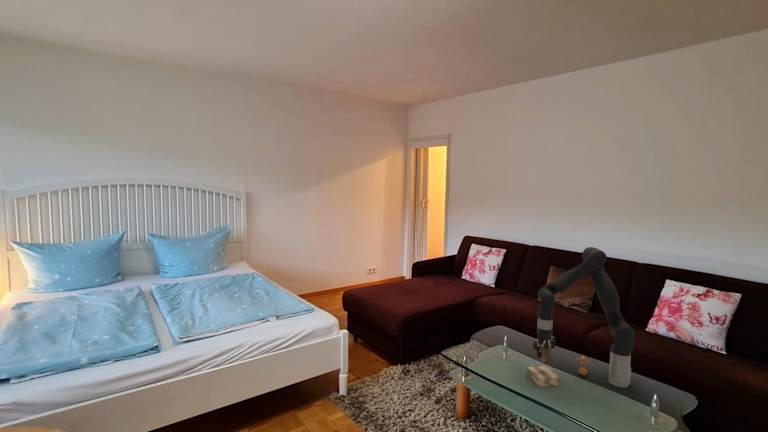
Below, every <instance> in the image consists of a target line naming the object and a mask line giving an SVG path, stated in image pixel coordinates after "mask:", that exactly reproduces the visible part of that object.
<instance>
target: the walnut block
mask: <svg viewBox="0 0 768 432" xmlns="http://www.w3.org/2000/svg"><path fill="white" fill-rule="evenodd" d="M539 348H540V347H539ZM551 356H552V349H551V348H550V347H548V346H546V345H544V346H543V348H541V358H538V357H537V354H536V359H537V360H539V361H541V362H543V363H544V362H549V361H551V359H552V358H551Z"/></svg>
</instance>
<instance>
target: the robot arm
mask: <svg viewBox="0 0 768 432" xmlns="http://www.w3.org/2000/svg"><path fill="white" fill-rule="evenodd" d="M581 256H582V260H583V261H582V262H581V263H580V264H579V265H577V266H576V267H573V268H571V269H569V270H566V271H565V272H563V273H562V274H560V275H559V276H558V277H557V278H556V279H554V281H551V282H550V283H548V284H545V285H544V286H542V287H541V288H540V289H539V290H538V291H537V298H538V299H539V300H540V307H539V308H538V314H537V315H538V316H537V322H536V325H537V326H536V334H537V337H536V338H535V339H534V338H532V340H531V343H532V348H533V350H534V351H536V355H537V357H538V358H541V348H543V346H544V345H546V346H548V347H550V348H551V350H552V349H555V346H556V342H557V337H555V336H553V323H554V321H553V314H554V312H553V311H554V309H555V306H556V304H555V303H556V297H555V295H557V294H559V293H560V294H561V293H565V291H567V289H569V288H570V287H572V286H573V285H574V284H575V283H576V282H578V281H580V280H581V279H582V278H584V277H585V276H587V275H590V277H591V281H592V283H593V287H594V289H595V292H596V295H597V297H598V300H599V303H600V305H601V307H602V310H603V311H604V314H605V317H606V319H607V320H606V321H607V324H608V329H609V332H610V333H611V335H612V336H613V337H614V343H613V344H611V345H610V353H609V369H608V372H609V373H608V383H609V384H611V385H612V386H614V387H617V388H623V389H624V388H628V387H629V386H630V385H631V377H632V367H631V358H632V351H633V349H634V345H635V331H634V328H633V327H632V326H630V325H629V324H628V323H627V322H626V321H625V318H624V317H623V315H622V313H621V308H620V302H621V301H620V297H619V294H618V290H617V289H616V286H615V285H614V282H613V280H612V279H611V278H610V276H609V275H608V273H607V272H606V270H605V268H604V265H605V264H606V262H607V259H608V258H607V254H606V253H605V251H603V250H602V249H599V248H596V247H591V246H589V247H586V248H584V250H583V251H582V253H581ZM539 347H540V348H539ZM538 358H537V359H538Z"/></svg>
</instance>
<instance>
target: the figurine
mask: <svg viewBox="0 0 768 432" xmlns="http://www.w3.org/2000/svg"><path fill="white" fill-rule="evenodd" d="M578 360H581V361H580V364H581V365H580V368H579V370H578V372H579V374H580V375H582V376H586V375H587V374H588V370H587V369H586V365H587V363H589V364H590V365H591V366H592V363H591V362H590V361H589V360H588V359H587V358H586V357H585V355H584V354H583V355H582V356H581V357H577V358H576V359H575V360H574V362H576V361H578ZM592 367H593V366H592Z"/></svg>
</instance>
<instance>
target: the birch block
mask: <svg viewBox="0 0 768 432" xmlns="http://www.w3.org/2000/svg"><path fill="white" fill-rule="evenodd" d="M526 376H527V377H528V379H529V380H531V382H532V383H533V384H534V385H535V386H536V388H541V387H542V388H543V387H556V386H559V385H560V375H558V374H557V373H556V372H555V371H554V370H553V369H552V368H550V367H549V365H540V366H539V365H538V366H527V367H526Z"/></svg>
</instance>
